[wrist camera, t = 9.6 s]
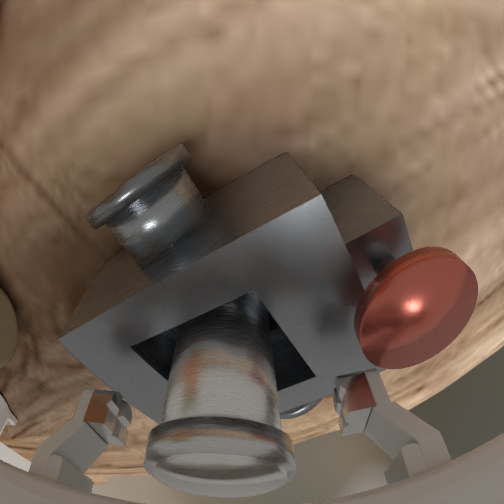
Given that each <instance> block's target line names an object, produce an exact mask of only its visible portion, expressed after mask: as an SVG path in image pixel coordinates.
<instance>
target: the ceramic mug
mask: <svg viewBox="0 0 504 504" xmlns="http://www.w3.org/2000/svg"><path fill="white" fill-rule="evenodd" d="M17 340H18V327H17V319H16V314H15V311H14V308H13V306H12V304H11V302H10V300H9V298H8V296H7V295H6V293H5V292H4V291H3V290H2V288H1V287H0V368H2V367H4V366H5V365H6V364H7V363H8V362H9V361H10V360H11V358H12V356H13V355H14V352H15V349H16V345H17Z"/></svg>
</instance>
